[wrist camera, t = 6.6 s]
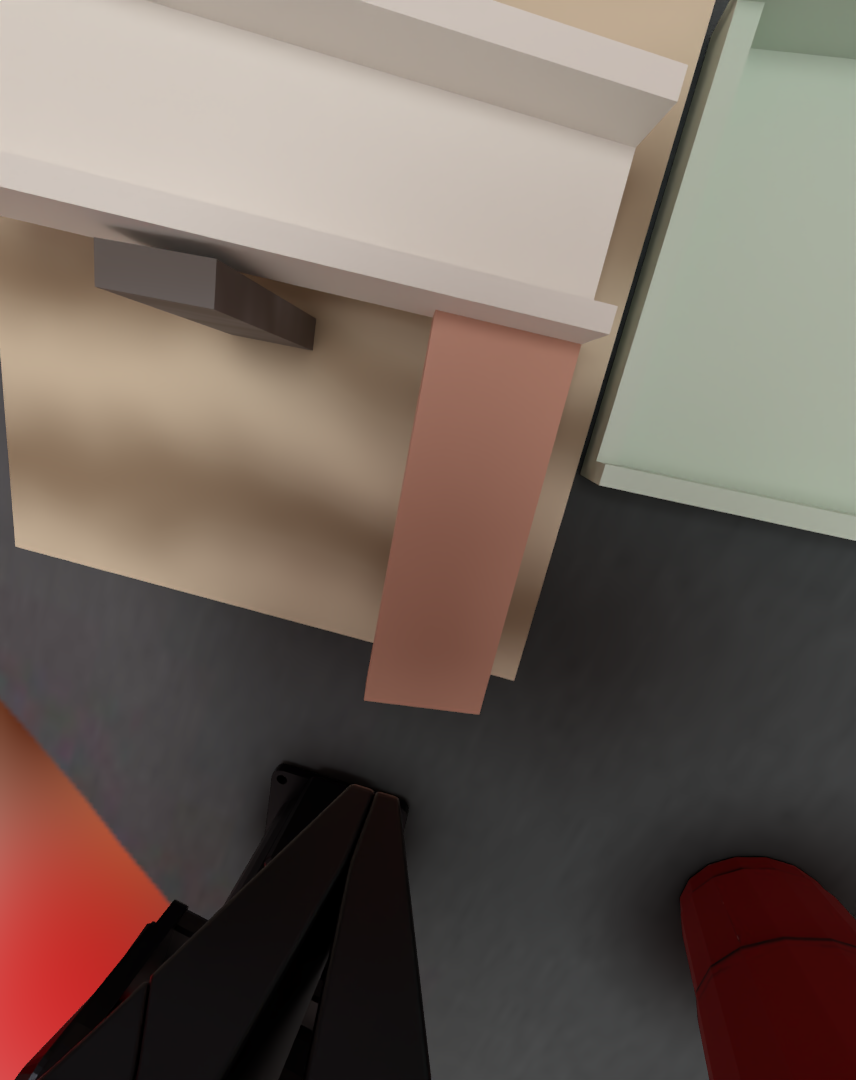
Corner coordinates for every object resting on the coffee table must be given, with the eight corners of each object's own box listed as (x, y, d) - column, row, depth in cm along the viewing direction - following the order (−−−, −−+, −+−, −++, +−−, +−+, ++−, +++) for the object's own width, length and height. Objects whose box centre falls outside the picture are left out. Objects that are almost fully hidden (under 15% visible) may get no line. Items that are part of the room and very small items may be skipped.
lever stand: (513, 669, 17) (519, 791, 11) (34, 541, 19) (-162, 589, 14) (713, -14, 11) (937, -480, 5) (-6, -81, 14) (-380, -457, 8)
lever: (474, 696, 16) (488, 749, 13) (-144, 616, 13) (-268, 664, 11) (622, 142, 11) (688, 65, 8) (-293, -134, 9) (-573, -353, 6)
